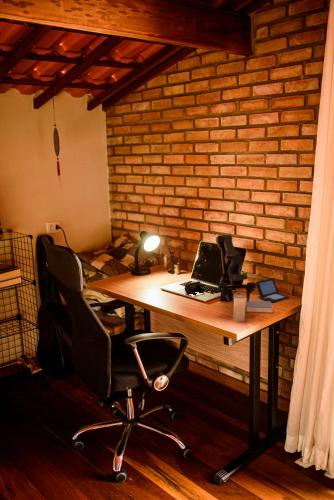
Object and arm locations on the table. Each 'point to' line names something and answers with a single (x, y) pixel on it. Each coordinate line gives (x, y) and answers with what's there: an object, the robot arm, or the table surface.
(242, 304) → the pen cup
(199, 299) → the table surface
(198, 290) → the end cap
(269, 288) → the handheld game console
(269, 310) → the gray book
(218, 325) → the table surface
